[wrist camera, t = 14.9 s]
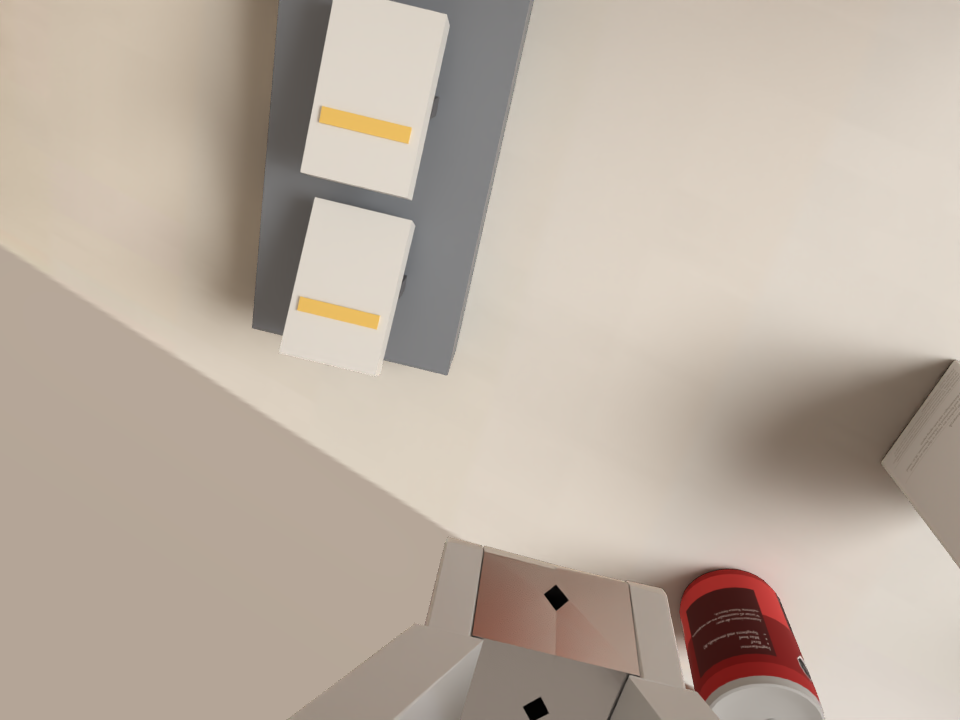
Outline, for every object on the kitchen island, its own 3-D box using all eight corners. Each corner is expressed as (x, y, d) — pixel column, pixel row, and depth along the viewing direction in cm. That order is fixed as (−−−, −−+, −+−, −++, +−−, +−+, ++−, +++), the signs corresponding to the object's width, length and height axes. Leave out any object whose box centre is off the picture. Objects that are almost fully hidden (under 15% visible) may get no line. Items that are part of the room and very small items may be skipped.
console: (325, -273, 36) (286, -325, 30) (580, -212, 36) (584, -253, 30) (271, 305, 49) (238, 336, 44) (455, 350, 49) (443, 386, 44)
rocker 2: (322, 203, 41) (314, 196, 39) (415, 225, 41) (411, 220, 39) (287, 352, 42) (277, 353, 40) (379, 374, 42) (374, 376, 40)
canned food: (745, 654, 58) (784, 782, 48) (658, 617, 57) (679, 739, 47) (800, 590, 55) (853, 713, 45) (709, 551, 54) (742, 667, 44)
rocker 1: (343, 0, 36) (334, -14, 34) (449, 26, 36) (446, 13, 34) (310, 175, 38) (299, 171, 36) (412, 200, 38) (406, 197, 36)
